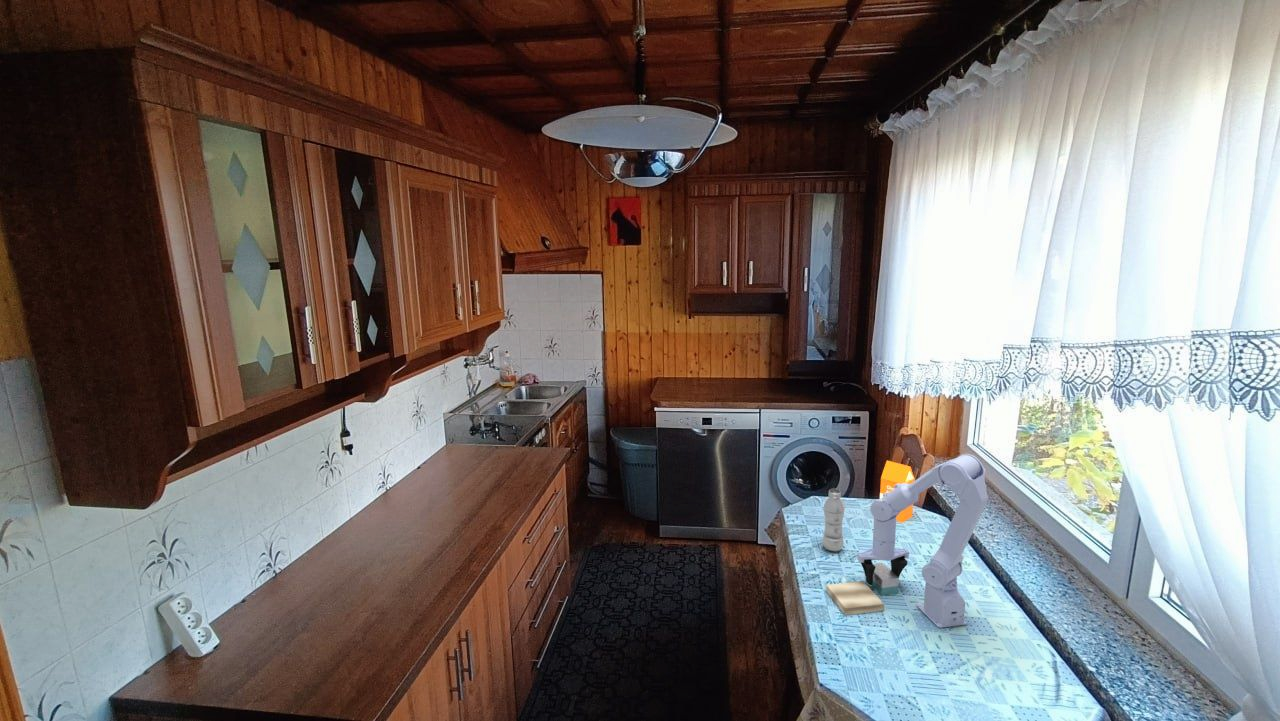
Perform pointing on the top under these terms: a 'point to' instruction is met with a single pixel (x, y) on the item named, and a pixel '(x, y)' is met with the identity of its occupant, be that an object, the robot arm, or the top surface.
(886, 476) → the orange juice
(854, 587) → the stand
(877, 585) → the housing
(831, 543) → the plastic bottle
